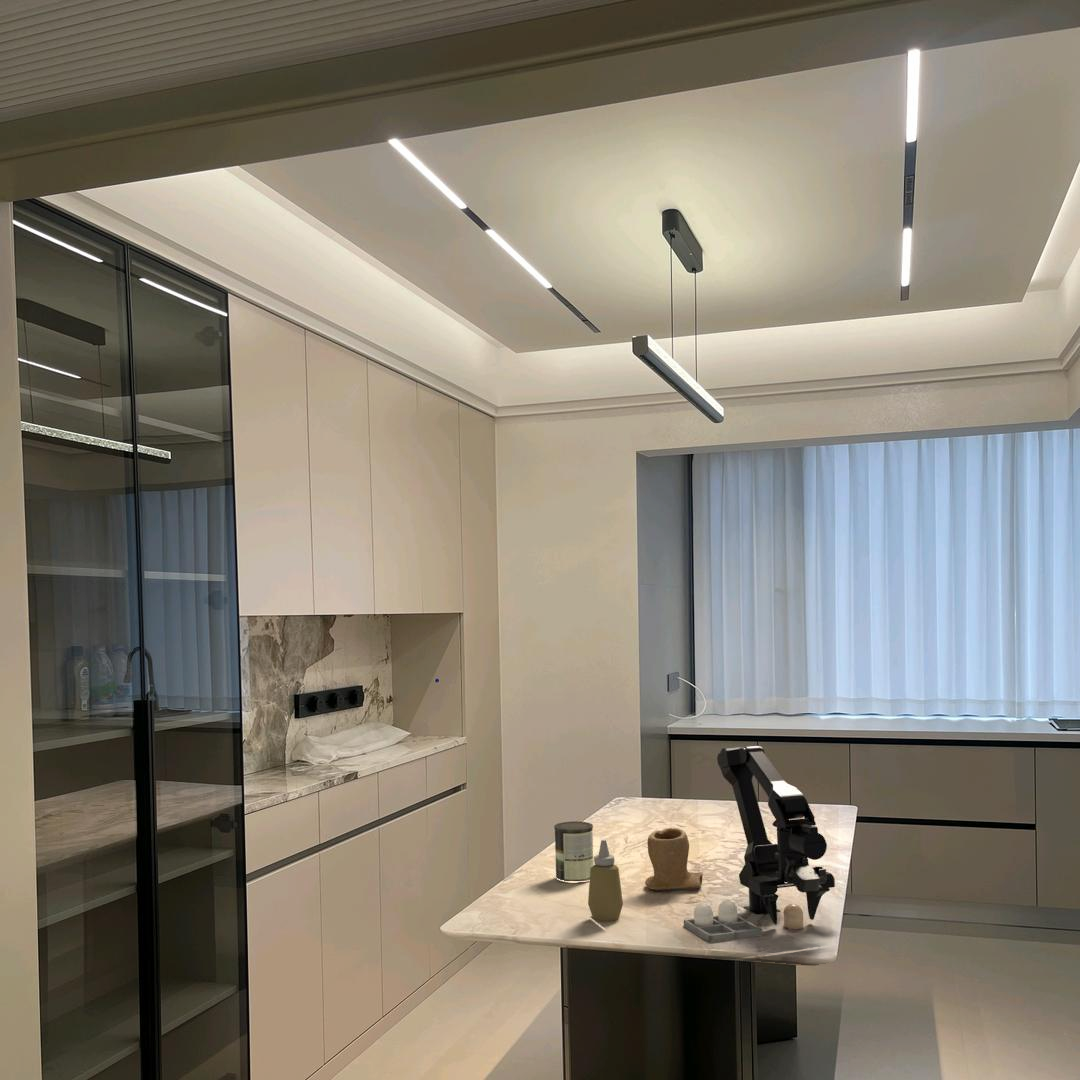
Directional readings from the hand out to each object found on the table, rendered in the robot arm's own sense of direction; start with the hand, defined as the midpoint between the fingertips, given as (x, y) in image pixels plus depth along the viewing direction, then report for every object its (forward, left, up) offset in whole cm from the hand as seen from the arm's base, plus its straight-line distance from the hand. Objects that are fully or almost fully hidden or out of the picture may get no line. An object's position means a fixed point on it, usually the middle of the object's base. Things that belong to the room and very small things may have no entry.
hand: (793, 921), depth 236 cm
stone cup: (-40, -10, -2) cm, 41 cm away
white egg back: (-6, -19, -1) cm, 20 cm away
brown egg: (0, 0, -1) cm, 1 cm away
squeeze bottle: (-22, -36, -2) cm, 42 cm away
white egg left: (-6, -13, -1) cm, 14 cm away
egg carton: (-3, -16, -1) cm, 16 cm away
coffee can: (-60, -30, -2) cm, 67 cm away
